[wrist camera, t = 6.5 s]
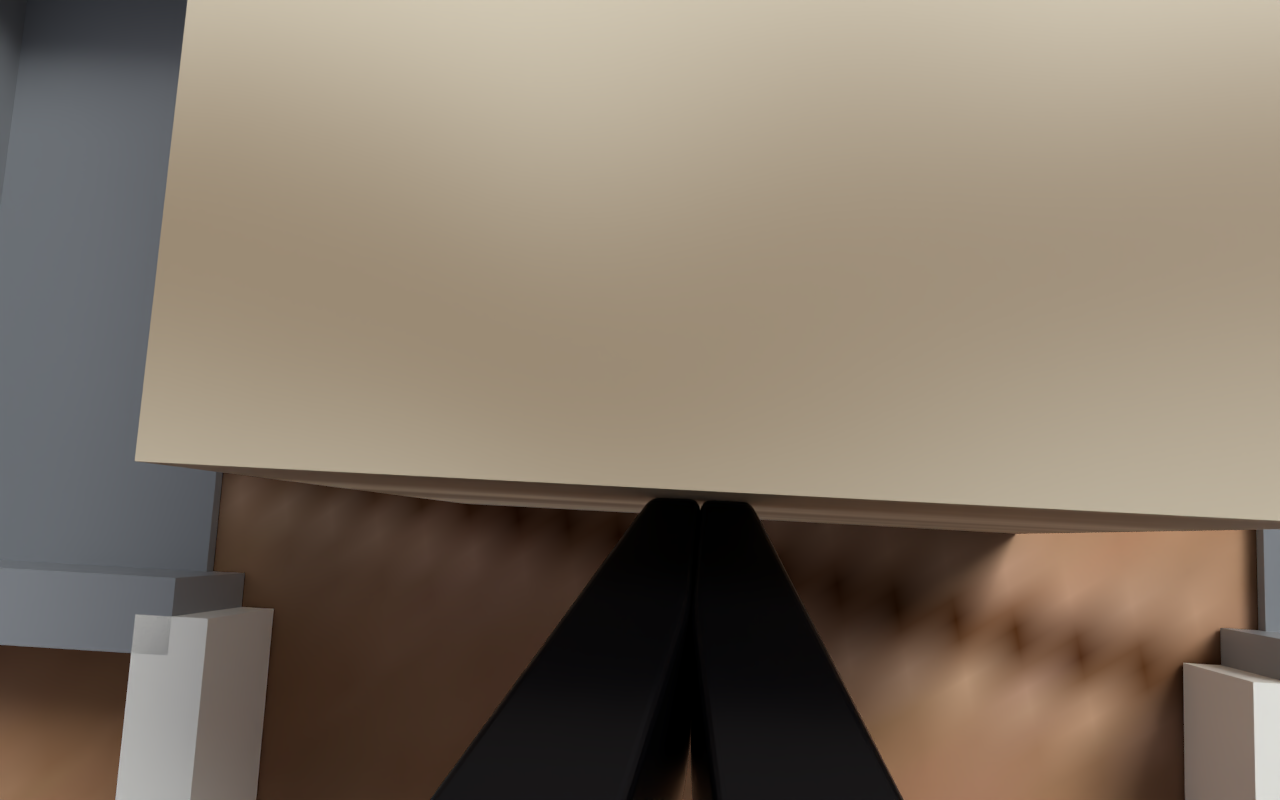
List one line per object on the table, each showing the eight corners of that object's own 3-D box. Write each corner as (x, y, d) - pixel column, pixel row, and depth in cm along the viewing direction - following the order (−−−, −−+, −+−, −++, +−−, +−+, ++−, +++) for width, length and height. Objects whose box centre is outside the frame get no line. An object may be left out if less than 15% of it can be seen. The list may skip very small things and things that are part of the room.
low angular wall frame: (1706, 1448, 13) (2134, 1847, 9) (-187, 1220, 15) (-508, 1458, 11) (1571, -569, 16) (1836, -920, 12) (47, -504, 19) (-136, -781, 15)
